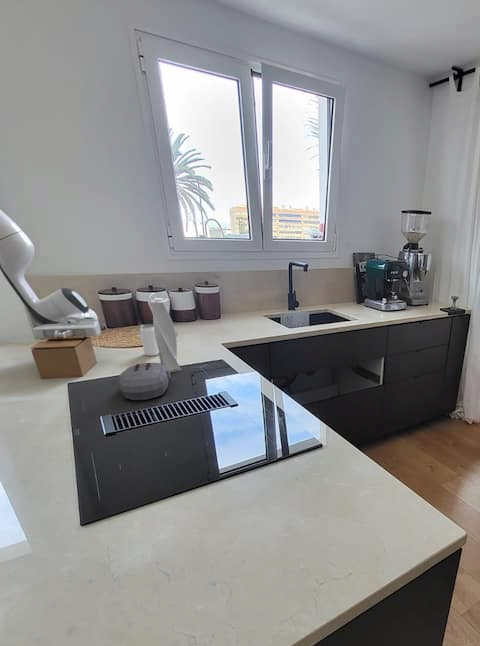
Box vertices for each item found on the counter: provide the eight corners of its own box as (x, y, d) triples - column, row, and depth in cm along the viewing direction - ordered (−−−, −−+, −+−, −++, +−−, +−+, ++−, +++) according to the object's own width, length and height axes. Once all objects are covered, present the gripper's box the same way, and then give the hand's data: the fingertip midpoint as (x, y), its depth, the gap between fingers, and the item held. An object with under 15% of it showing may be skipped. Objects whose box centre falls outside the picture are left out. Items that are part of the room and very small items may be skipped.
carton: (58, 364, 150) (49, 336, 145) (97, 362, 153) (89, 334, 148) (40, 378, 137) (30, 347, 132) (82, 376, 140) (74, 345, 135)
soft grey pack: (125, 382, 136) (116, 405, 119) (120, 359, 132) (110, 380, 115) (173, 377, 141) (170, 399, 124) (168, 355, 138) (166, 374, 121)
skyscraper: (155, 368, 149) (140, 293, 137) (177, 364, 154) (164, 291, 142) (163, 374, 143) (148, 297, 132) (185, 370, 148) (173, 294, 137)
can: (148, 357, 161) (142, 328, 156) (142, 353, 165) (136, 325, 160) (164, 354, 165) (159, 326, 160) (158, 350, 169) (152, 323, 164)
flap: (50, 337, 145) (50, 336, 145) (89, 335, 148) (89, 334, 148) (40, 339, 138) (40, 338, 138) (81, 338, 142) (81, 336, 141)
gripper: (40, 319, 147) (21, 328, 135) (101, 317, 152) (89, 326, 140) (45, 335, 150) (27, 346, 137) (105, 333, 155) (93, 343, 142)
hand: (59, 336), depth 139 cm, fingers closed, pressing on flap
